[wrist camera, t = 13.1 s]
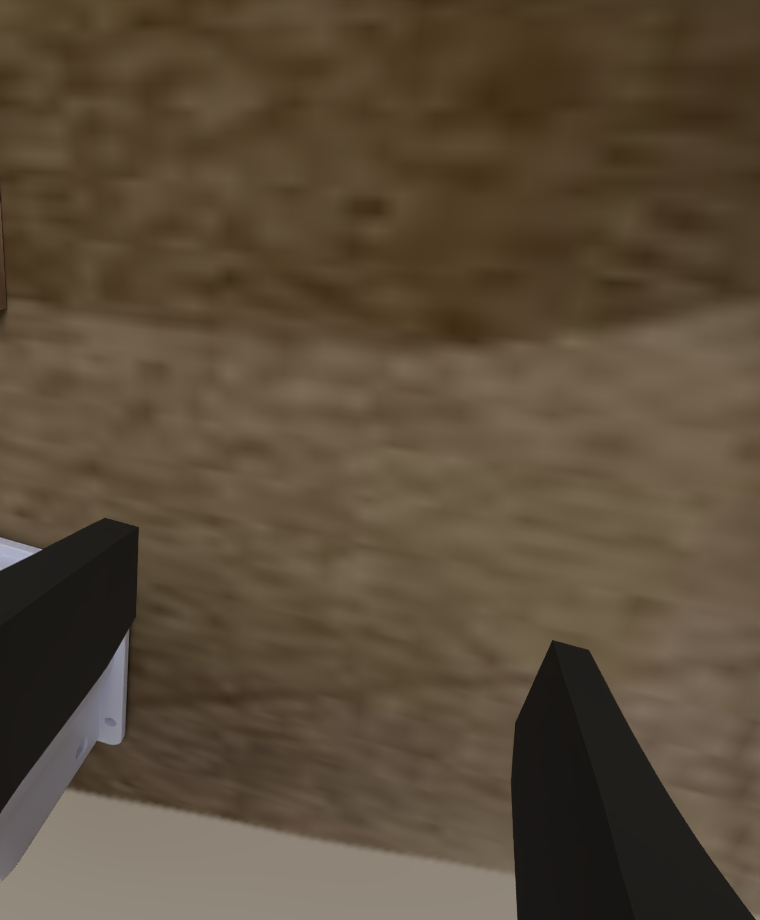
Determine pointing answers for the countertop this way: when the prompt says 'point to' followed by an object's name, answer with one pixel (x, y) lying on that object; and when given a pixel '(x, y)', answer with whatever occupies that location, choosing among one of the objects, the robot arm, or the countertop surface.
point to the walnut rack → (2, 271)
